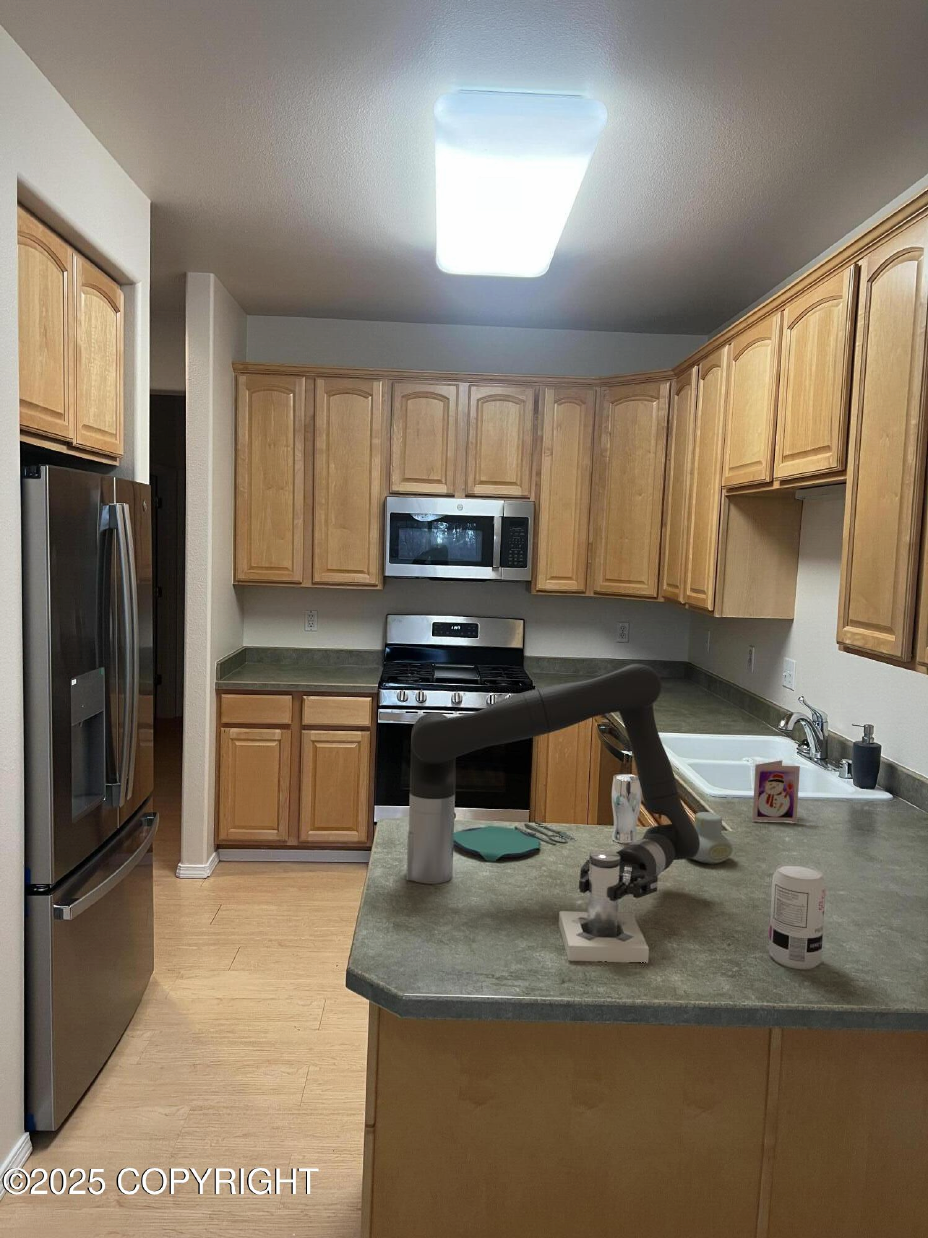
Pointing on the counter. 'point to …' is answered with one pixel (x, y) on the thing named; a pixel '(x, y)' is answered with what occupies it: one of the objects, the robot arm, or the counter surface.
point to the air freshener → (711, 839)
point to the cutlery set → (503, 841)
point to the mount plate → (602, 940)
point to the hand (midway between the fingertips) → (596, 891)
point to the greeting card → (776, 792)
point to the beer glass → (625, 807)
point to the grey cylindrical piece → (602, 894)
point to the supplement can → (797, 916)
